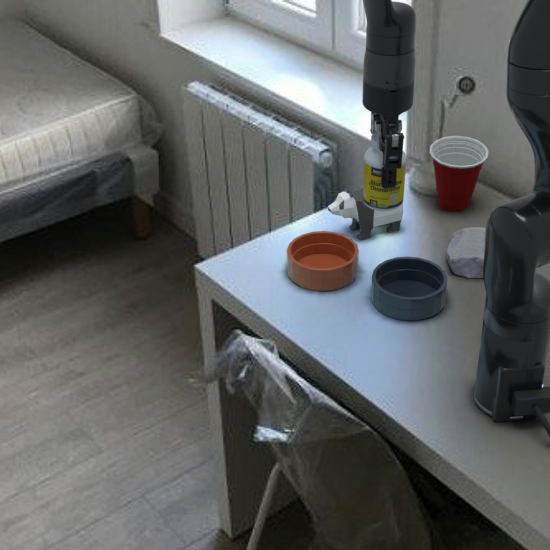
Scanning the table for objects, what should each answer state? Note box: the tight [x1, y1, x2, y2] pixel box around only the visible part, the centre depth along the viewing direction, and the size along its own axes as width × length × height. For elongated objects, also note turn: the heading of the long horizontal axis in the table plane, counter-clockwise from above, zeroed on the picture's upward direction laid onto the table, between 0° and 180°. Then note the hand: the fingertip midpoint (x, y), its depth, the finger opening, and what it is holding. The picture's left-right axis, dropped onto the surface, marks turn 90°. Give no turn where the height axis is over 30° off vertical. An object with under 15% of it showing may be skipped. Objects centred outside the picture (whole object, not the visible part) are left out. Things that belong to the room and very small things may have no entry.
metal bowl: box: [370, 256, 449, 321], centre depth 160 cm, size 12×12×4 cm
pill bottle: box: [362, 132, 407, 211], centre depth 151 cm, size 6×6×12 cm
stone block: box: [446, 226, 486, 279], centre depth 169 cm, size 12×5×10 cm
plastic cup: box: [429, 135, 489, 213], centre depth 182 cm, size 11×11×12 cm
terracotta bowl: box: [286, 230, 360, 292], centre depth 167 cm, size 12×12×4 cm
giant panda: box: [327, 187, 404, 241], centre depth 176 cm, size 15×6×10 cm, turn 111°
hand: (384, 175), depth 151 cm, fingers closed on pill bottle, 6 cm apart
